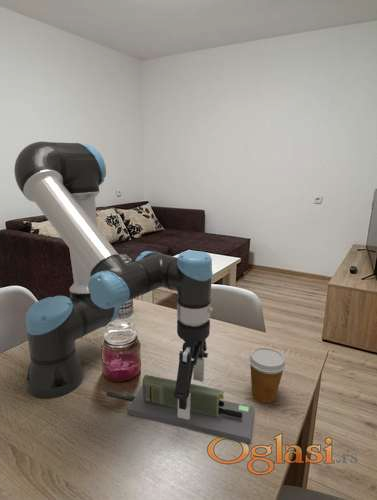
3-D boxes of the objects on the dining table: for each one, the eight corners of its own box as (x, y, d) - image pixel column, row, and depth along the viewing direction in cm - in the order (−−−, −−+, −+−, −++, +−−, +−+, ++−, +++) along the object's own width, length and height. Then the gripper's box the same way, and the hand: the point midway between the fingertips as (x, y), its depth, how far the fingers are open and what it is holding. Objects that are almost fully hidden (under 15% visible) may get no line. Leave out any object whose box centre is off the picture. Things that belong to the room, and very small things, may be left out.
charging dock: (96, 406, 83) (96, 401, 83) (115, 382, 93) (115, 377, 92) (249, 443, 73) (250, 438, 73) (253, 412, 83) (254, 406, 82)
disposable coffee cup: (286, 392, 90) (291, 354, 87) (274, 413, 82) (278, 372, 79) (254, 379, 95) (257, 342, 92) (239, 398, 87) (242, 358, 84)
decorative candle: (127, 308, 137) (125, 251, 131) (138, 317, 130) (137, 256, 124) (107, 314, 132) (103, 255, 125) (117, 323, 125) (114, 261, 118)
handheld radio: (147, 393, 86) (242, 414, 80) (142, 402, 83) (241, 425, 77) (146, 372, 84) (244, 391, 78) (141, 380, 81) (242, 402, 75)
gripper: (195, 351, 62) (193, 441, 68) (219, 299, 85) (216, 369, 91) (158, 344, 64) (159, 432, 70) (192, 295, 87) (190, 364, 93)
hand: (191, 397), depth 81 cm, fingers open, 13 cm apart
